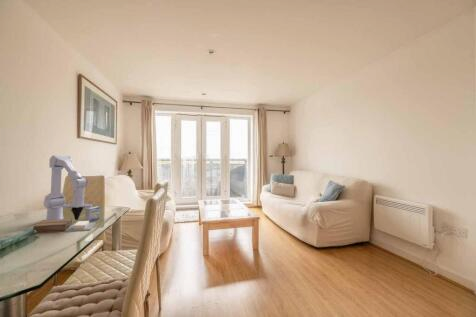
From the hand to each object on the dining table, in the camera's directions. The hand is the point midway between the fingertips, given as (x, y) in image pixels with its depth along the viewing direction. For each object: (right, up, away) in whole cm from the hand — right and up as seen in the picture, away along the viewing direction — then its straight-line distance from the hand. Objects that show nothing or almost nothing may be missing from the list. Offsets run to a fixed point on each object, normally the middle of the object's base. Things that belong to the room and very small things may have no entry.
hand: (76, 219), depth 126 cm
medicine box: (-2, -5, +17) cm, 18 cm away
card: (+2, -3, +1) cm, 4 cm away
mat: (+2, -5, +1) cm, 6 cm away
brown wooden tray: (-10, -4, -5) cm, 12 cm away
